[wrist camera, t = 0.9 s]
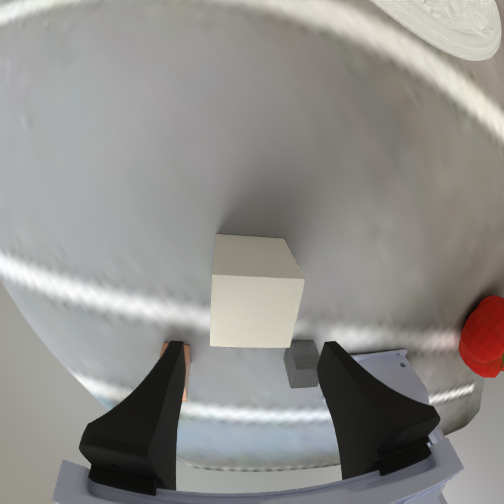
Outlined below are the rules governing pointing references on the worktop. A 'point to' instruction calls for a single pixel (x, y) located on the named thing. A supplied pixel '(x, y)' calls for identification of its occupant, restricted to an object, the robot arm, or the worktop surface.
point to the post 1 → (188, 363)
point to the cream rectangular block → (254, 292)
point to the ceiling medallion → (450, 24)
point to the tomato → (484, 338)
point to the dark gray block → (302, 364)
